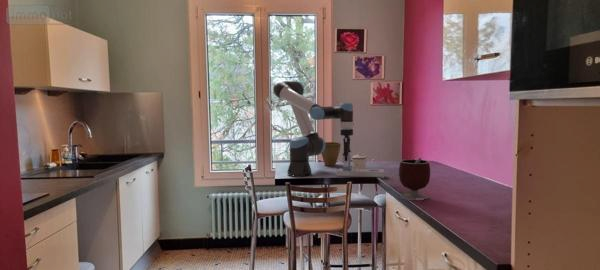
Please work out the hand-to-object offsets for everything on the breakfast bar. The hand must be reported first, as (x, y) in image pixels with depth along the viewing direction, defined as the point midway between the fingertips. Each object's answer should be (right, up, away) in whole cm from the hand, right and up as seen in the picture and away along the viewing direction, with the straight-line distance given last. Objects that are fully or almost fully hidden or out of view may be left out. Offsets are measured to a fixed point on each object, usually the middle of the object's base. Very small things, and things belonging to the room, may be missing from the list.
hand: (346, 164), depth 227 cm
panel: (+8, -7, -1) cm, 11 cm away
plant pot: (-6, -4, +43) cm, 44 cm away
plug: (0, -6, 0) cm, 6 cm away
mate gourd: (+25, -11, -53) cm, 59 cm away
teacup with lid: (+9, -6, +20) cm, 22 cm away
